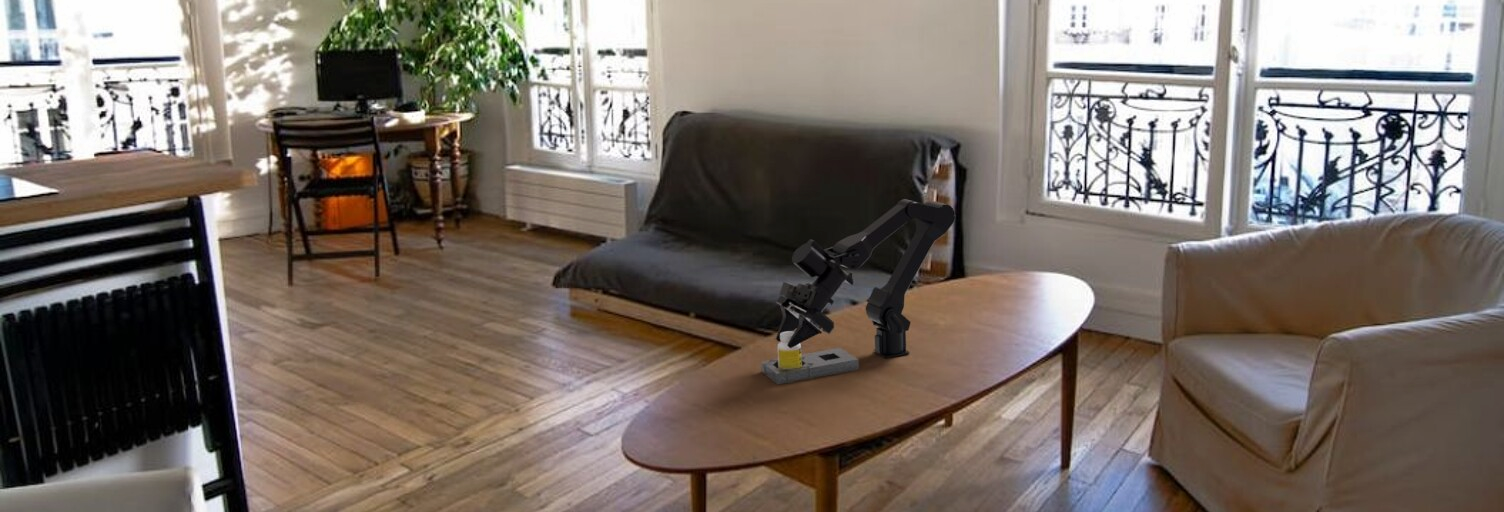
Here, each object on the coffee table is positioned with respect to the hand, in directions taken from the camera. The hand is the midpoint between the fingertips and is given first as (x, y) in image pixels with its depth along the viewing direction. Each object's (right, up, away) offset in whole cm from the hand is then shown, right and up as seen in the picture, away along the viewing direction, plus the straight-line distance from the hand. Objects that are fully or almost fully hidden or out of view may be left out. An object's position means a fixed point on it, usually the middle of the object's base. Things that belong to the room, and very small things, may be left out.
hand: (783, 343), depth 268 cm
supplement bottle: (+2, -7, +2) cm, 8 cm away
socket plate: (+6, -7, +4) cm, 10 cm away
